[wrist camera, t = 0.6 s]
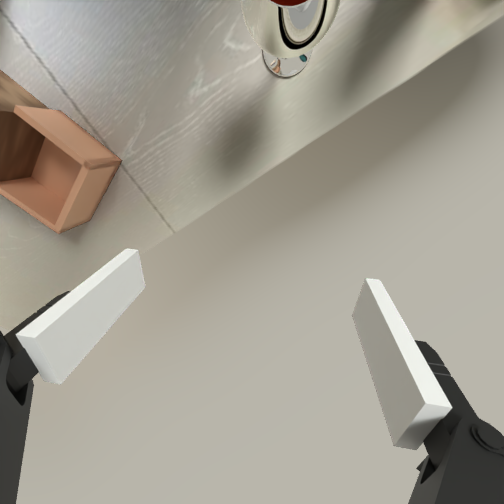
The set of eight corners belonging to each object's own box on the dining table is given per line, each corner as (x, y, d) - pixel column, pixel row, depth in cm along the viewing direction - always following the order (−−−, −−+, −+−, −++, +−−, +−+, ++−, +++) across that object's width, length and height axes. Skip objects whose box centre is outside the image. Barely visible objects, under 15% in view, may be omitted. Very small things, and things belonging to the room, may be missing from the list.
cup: (34, 180, 42) (-9, 187, 36) (60, 110, 37) (15, 105, 31) (89, 220, 45) (58, 234, 38) (122, 160, 39) (91, 164, 33)
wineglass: (295, 98, 33) (308, 59, 17) (244, 62, 32) (205, -17, 16) (333, 30, 29) (397, -102, 13) (278, -13, 28) (273, -214, 12)
